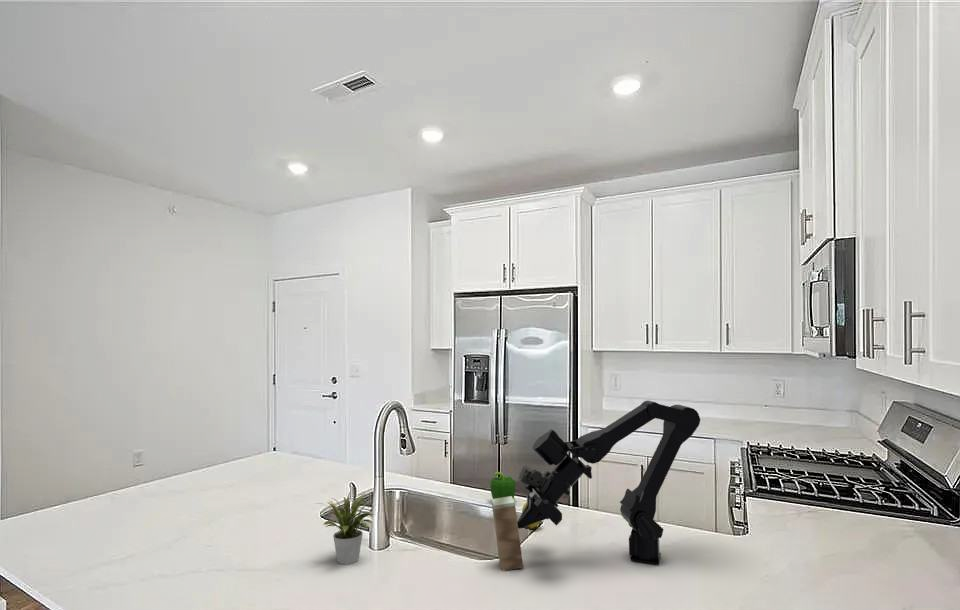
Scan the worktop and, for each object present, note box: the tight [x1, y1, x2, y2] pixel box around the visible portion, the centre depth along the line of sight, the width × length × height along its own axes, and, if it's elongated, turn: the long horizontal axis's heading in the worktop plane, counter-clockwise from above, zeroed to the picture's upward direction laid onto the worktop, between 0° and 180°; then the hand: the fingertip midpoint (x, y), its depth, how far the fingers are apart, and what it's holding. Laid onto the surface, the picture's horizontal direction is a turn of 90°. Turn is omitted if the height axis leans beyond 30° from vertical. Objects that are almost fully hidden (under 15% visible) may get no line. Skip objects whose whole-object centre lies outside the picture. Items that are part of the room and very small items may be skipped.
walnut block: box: [491, 496, 524, 572], centre depth 123 cm, size 5×5×15 cm
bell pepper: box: [490, 471, 517, 500], centre depth 170 cm, size 8×8×10 cm
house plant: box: [314, 491, 376, 565], centre depth 127 cm, size 14×14×16 cm
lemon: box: [521, 501, 541, 530], centre depth 147 cm, size 6×6×8 cm
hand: (517, 526), depth 123 cm, fingers closed
